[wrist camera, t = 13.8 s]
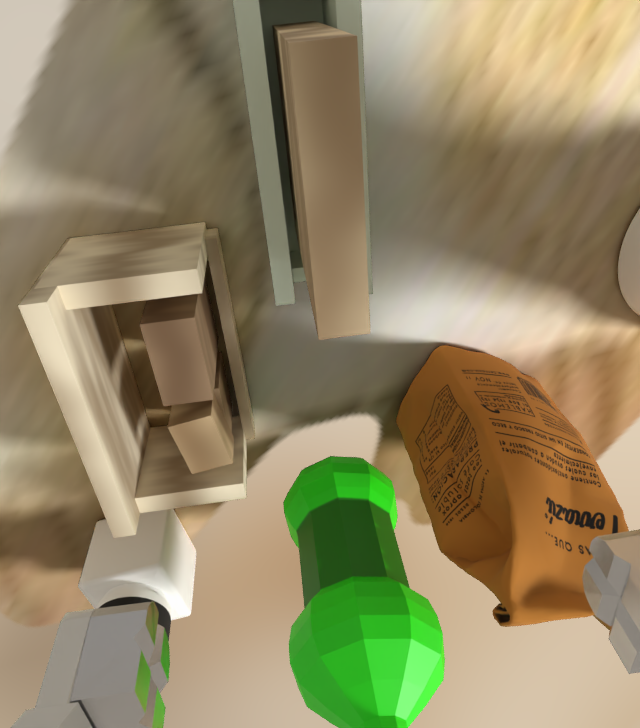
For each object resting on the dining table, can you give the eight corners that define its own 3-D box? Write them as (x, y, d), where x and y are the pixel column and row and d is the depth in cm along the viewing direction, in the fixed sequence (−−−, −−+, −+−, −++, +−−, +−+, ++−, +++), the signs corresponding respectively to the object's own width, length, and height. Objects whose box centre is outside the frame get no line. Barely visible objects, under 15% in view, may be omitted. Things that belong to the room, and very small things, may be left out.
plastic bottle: (336, 532, 57) (389, 846, 36) (255, 482, 52) (261, 810, 31) (413, 473, 54) (520, 779, 33) (333, 414, 49) (399, 727, 28)
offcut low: (221, 351, 45) (218, 388, 40) (232, 405, 47) (231, 445, 43) (179, 356, 44) (172, 394, 40) (193, 410, 47) (188, 451, 43)
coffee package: (490, 460, 54) (617, 702, 35) (377, 418, 50) (454, 667, 31) (559, 378, 50) (744, 605, 31) (441, 325, 46) (574, 550, 27)
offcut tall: (202, 264, 41) (194, 317, 34) (218, 337, 44) (213, 399, 37) (157, 270, 41) (139, 324, 34) (176, 343, 44) (163, 406, 37)
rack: (216, 220, 39) (208, 281, 31) (255, 428, 49) (257, 517, 40) (67, 238, 39) (18, 305, 30) (136, 444, 48) (113, 538, 40)
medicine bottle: (94, 519, 53) (59, 644, 42) (170, 500, 52) (152, 621, 42) (127, 568, 56) (101, 692, 46) (197, 550, 56) (187, 672, 46)
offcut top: (213, 391, 40) (210, 415, 38) (233, 437, 43) (233, 463, 41) (172, 402, 41) (167, 427, 38) (194, 448, 43) (192, 474, 41)
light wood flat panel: (314, 20, 33) (357, 35, 20) (330, 225, 39) (370, 333, 27) (272, 25, 33) (288, 43, 20) (295, 229, 39) (318, 340, 27)
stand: (339, -35, 32) (359, -42, 27) (355, 252, 41) (372, 293, 36) (231, -24, 32) (228, -29, 26) (271, 263, 41) (275, 305, 35)
